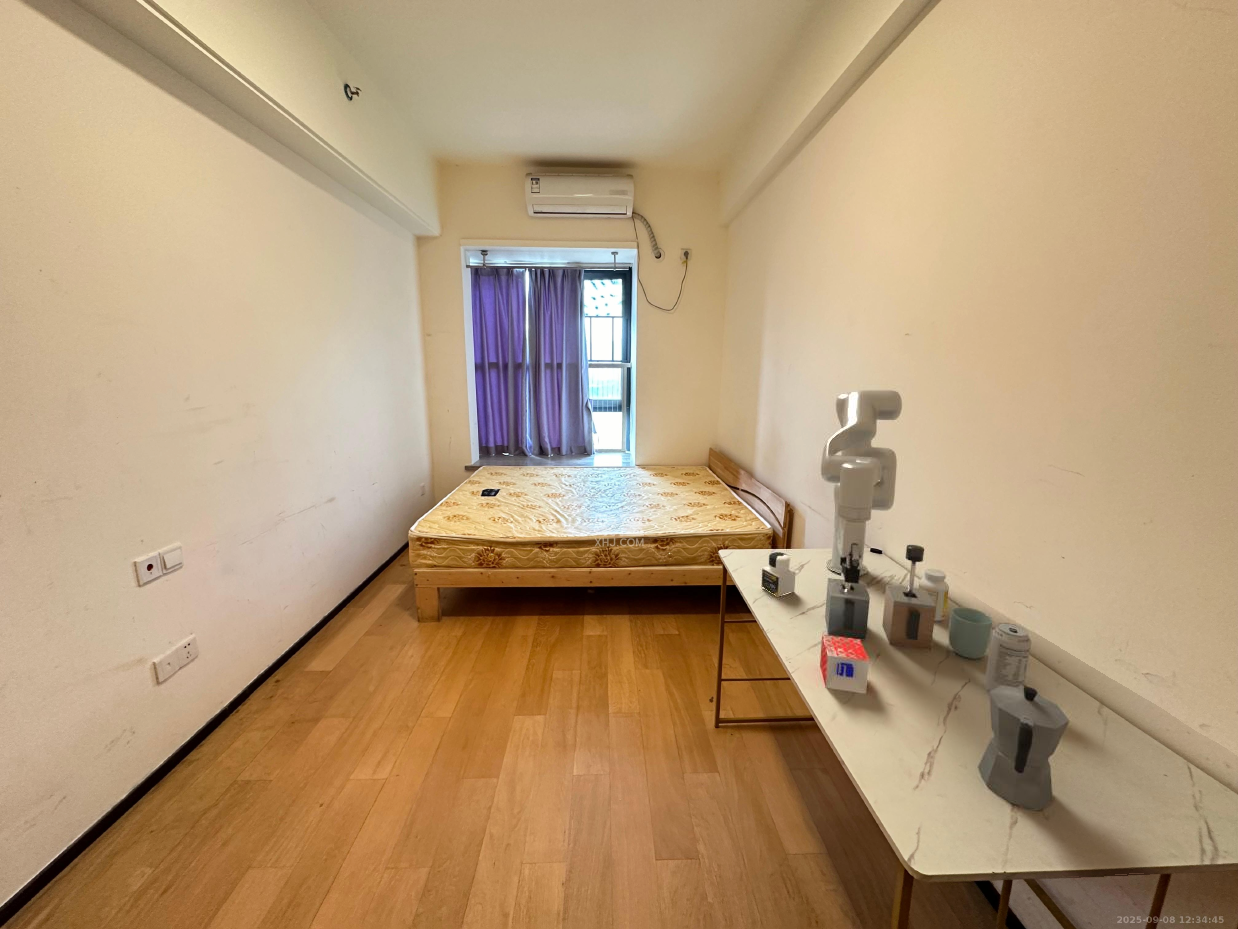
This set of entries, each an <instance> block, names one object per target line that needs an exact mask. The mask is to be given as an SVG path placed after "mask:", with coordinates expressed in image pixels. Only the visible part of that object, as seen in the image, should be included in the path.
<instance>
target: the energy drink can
mask: <svg viewBox="0 0 1238 929" xmlns="http://www.w3.org/2000/svg"><path fill="white" fill-rule="evenodd" d="M1031 647H1032V640H1031V638H1030V636H1029V631H1028V630H1027V629H1025V627H1022V626H1020V625H1017V624H1015V623H1010V622H999V623H997V625H996V627H995V628H994V629H992V632H991V638H990V643H989V651H988V652H989V653H988V660H987V665H986V673H985V677H984V686H985V688H986V691H987V692H988V693H989V692H990V691H992V690H994V689H996V688H998V687H999V686H1001V685H1003V686H1009V687H1015V688H1017V687H1019V686H1020V685H1025V681H1026V676H1027V675H1026V674H1027V670H1028V665H1029V664H1028V663H1029V658H1030V652H1031Z"/></svg>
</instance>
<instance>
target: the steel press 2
mask: <svg viewBox="0 0 1238 929" xmlns="http://www.w3.org/2000/svg"><path fill="white" fill-rule="evenodd" d="M908 588H909V586H898V585H891V584H889V585H888V584H886V585H885V597H884V606H883V614H882V623H881V624H882V625H881V626H882V629H883V631H884V634H885V636H886V639H887V641H888V644H889V645H892V646H893V645H894V646H898V647H905V648H911V649H919V650H923V651H924V650H925V651H931V650H932V644H933V643H932V642H933V635H934V626H935V621H934V620H935V612H936V605H935V603H934V602H933V600H932V599H931V597H930V596H929V594H928V592H927V591H926V589H919V587H918V588H916V587H913V595H912V598H911V597H908Z"/></svg>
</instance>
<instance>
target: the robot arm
mask: <svg viewBox="0 0 1238 929" xmlns="http://www.w3.org/2000/svg"><path fill="white" fill-rule="evenodd" d="M902 409H903V401H902V397H901V395H900V392H898V391H896V390H891V389H889V390H887V389H886V390H884V389H882V390H881V389H878V390H875V389H872V390H871V389H870V390H869V389H868V390H866V389H865V390H864V389H862V390H857V391H853V392H847V393H842V394H840V395H839V396H837V398H836V400H835V411H836V415H837V419H838V421H839V424H840V427H841V429H839V430H838V431H836V432H835V433H834V434H832V436H830V438H829V439H828V440H827V441H826V443H825V444H824V447H823V451H822V455H821V456H822V457H821V464H820V475H821V478H822V479H823V480H824V481H825V482H827V483H831V484H834V486H833V500H834V524H833V538H832V539H833V540H832V551H831V552H832V553H831V559H828V560H827V561H826V564H827V566H828V567H829V568H830V569H832V570H834V571H835V572H838V573H841V570H842V563H844V562H847V567H845V578H844V579H843V580H845V582H847V583H855V584H858V583H859V582H860V577H861V576H860V575H862V576H864V575H863V574H865V573H866V574H867V573H868V567H867V566H866V565H865V564H864V556H865V555H864V554H865V553H864V552H865V541H866V532H867V522H869V521H870V520H871V519H872V511H880V512H881V511H883V512H884V511H885V512H887V511H889V510H891V509H892V507H893V505H894V502H895V496H896V495H895V493H896V480H897V478H896V477H897V467H898V466H897V465H898V464H897V456H896V453H895V451H894V450H893V449H891V448H889V447H878V446H877V447H875V446H872V440H873V439H875V437H876V436H877V428H878V427H877V423H878V422H877V421H895V420H897V419H898V418H899V417H900V415H901V413H902ZM839 452H841V454H839V455H837V454H838V453H839ZM827 566H826V567H827ZM835 572H834V573H835ZM866 574H865V575H866Z"/></svg>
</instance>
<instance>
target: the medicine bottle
mask: <svg viewBox="0 0 1238 929" xmlns="http://www.w3.org/2000/svg"><path fill="white" fill-rule="evenodd" d="M790 560H791V557H790V555H788V554H786V553H784V552H779V551H777V552H776V551H775V552H772V553H769V556H768V566H763V567H762V569H761V570H762V571H761V588H762V587H764V588H765V589H767V590H768V591H770V592H771V593H773V594H775V595H776V596H781V595H783V594H786V593H789V592H793V591H795V588H796V574H797V572H796V571H795V570H793V569H791V568H790V562H791V561H790ZM795 592H796V591H795ZM771 593H770V594H771ZM776 596H775V597H776ZM781 597H782V596H781Z"/></svg>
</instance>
